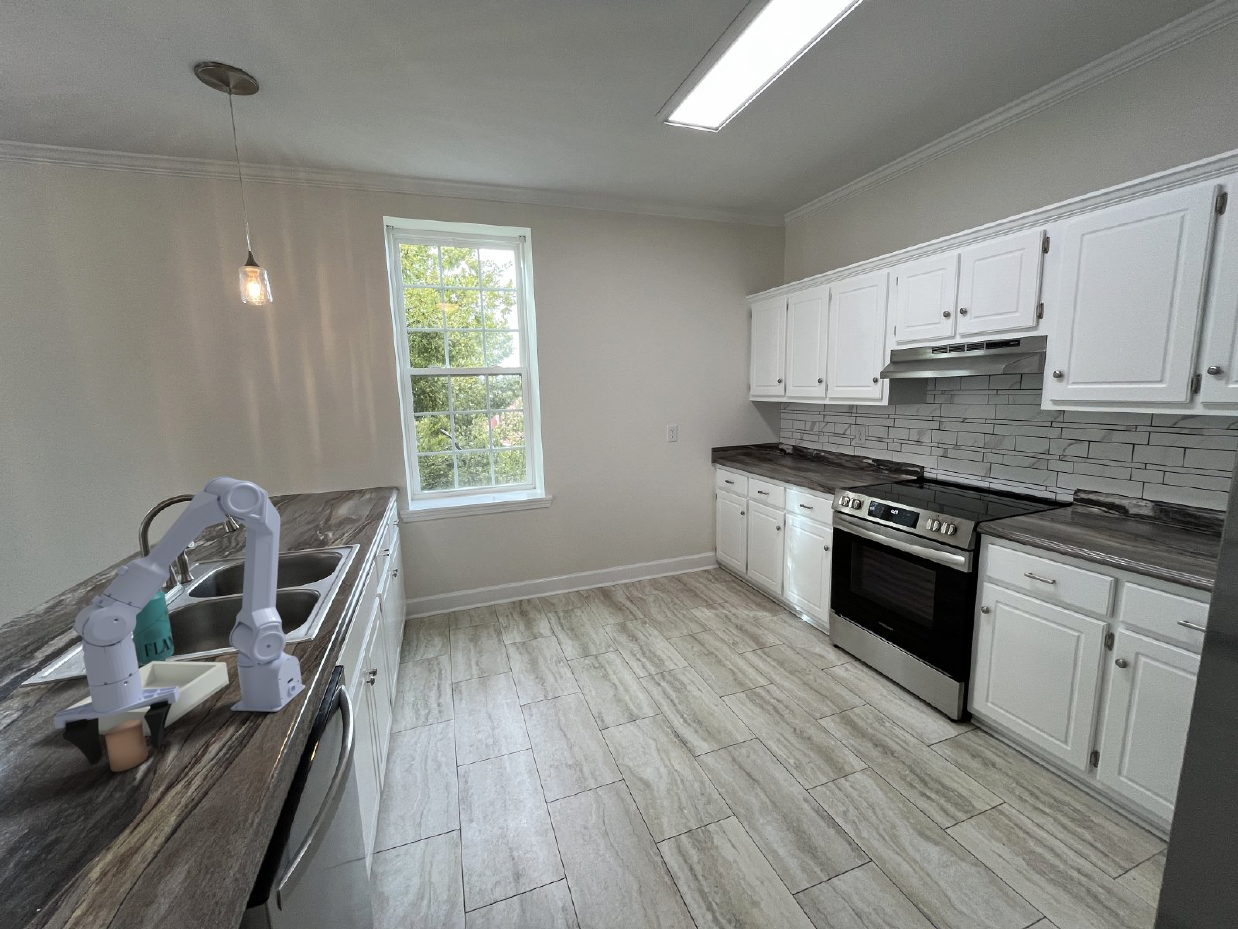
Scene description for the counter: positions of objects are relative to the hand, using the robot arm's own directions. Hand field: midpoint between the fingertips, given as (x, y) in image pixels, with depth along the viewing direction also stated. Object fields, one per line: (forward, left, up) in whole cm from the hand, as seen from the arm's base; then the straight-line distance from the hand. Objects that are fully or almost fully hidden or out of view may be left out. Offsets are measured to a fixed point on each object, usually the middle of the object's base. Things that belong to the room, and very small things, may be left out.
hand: (128, 752), depth 82 cm
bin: (+10, -14, -2) cm, 17 cm away
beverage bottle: (+25, -29, -2) cm, 38 cm away
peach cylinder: (0, 0, -2) cm, 2 cm away
